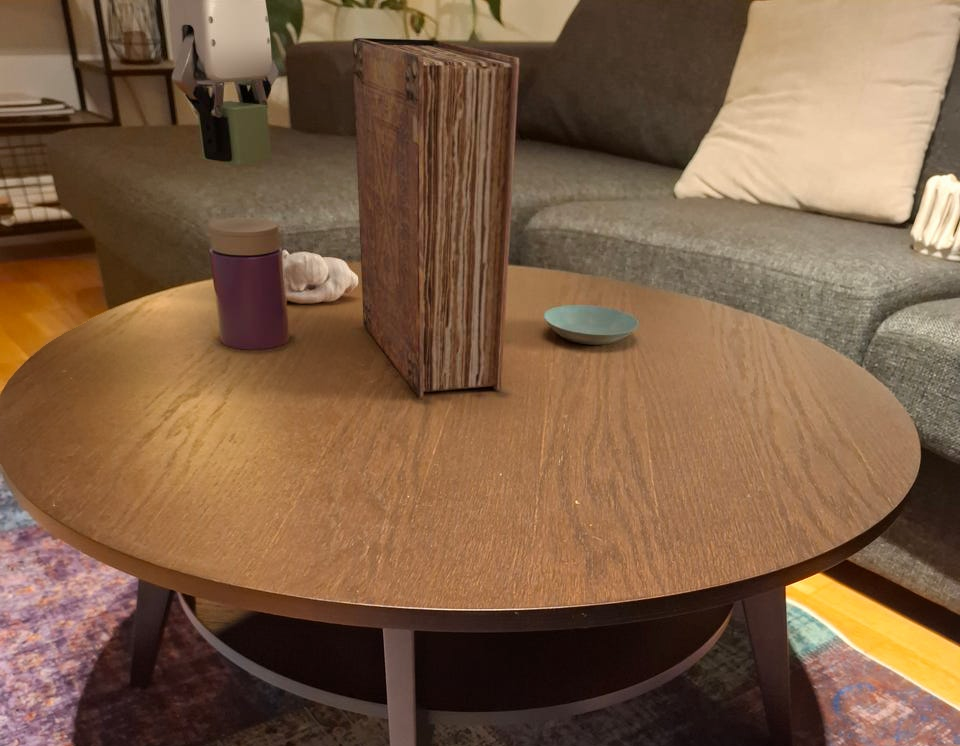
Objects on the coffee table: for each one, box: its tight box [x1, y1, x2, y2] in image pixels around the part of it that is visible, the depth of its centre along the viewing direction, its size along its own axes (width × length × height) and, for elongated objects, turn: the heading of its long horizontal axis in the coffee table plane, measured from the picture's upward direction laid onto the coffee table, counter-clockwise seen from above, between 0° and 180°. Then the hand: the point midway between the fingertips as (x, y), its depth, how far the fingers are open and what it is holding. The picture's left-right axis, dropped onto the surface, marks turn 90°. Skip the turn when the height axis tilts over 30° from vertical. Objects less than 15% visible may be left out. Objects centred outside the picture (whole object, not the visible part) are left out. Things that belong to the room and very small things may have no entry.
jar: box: [208, 246, 291, 351], centre depth 103 cm, size 8×8×12 cm
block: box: [197, 100, 272, 166], centre depth 94 cm, size 5×5×5 cm
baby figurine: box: [282, 249, 359, 305], centre depth 119 cm, size 9×12×8 cm
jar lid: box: [208, 216, 281, 255], centre depth 100 cm, size 8×8×2 cm
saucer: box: [543, 304, 640, 346], centre depth 112 cm, size 12×12×2 cm
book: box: [351, 37, 520, 400], centre depth 95 cm, size 25×9×30 cm, turn 19°
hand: (236, 154), depth 95 cm, fingers closed on block, 5 cm apart
